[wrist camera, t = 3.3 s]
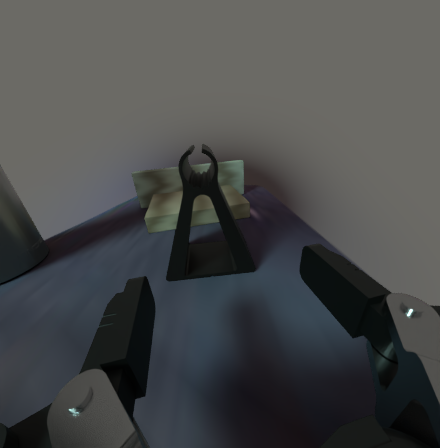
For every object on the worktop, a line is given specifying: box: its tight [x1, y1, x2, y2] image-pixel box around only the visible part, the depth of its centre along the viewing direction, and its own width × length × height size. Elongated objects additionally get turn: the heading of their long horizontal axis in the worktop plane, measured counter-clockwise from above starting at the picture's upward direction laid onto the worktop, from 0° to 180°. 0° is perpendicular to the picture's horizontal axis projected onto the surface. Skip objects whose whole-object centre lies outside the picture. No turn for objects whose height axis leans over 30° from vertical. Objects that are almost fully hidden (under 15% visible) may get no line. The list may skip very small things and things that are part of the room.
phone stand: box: [166, 144, 256, 281], centre depth 19 cm, size 9×6×12 cm, turn 94°
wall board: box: [132, 160, 250, 233], centre depth 34 cm, size 22×14×7 cm, turn 102°
